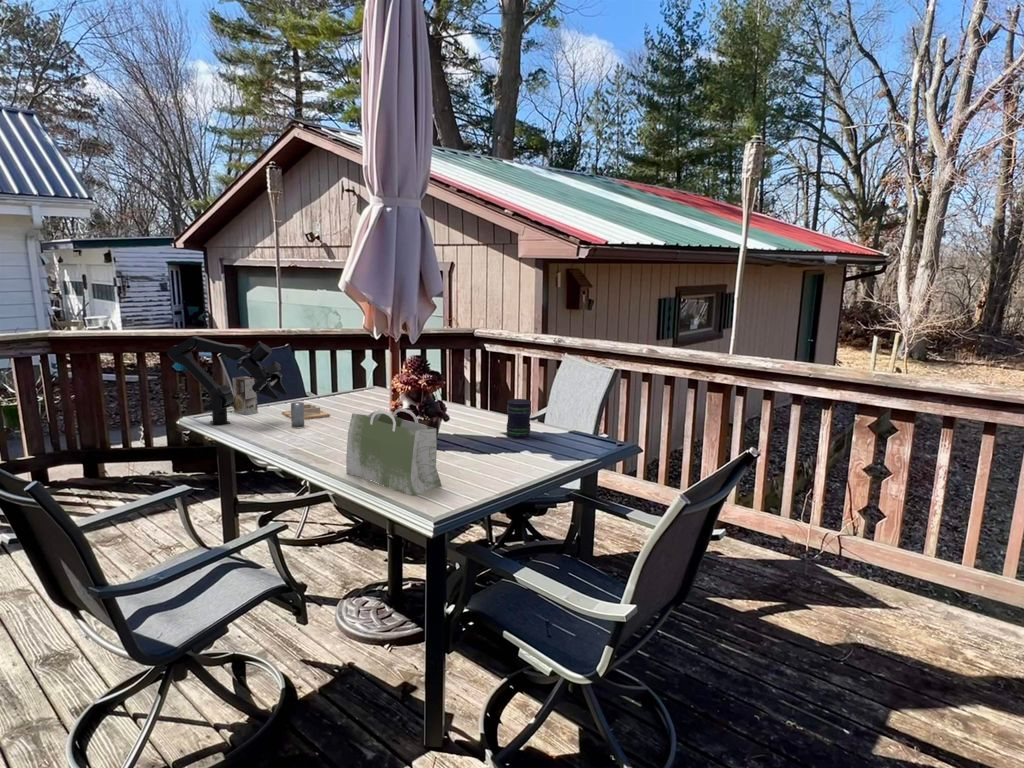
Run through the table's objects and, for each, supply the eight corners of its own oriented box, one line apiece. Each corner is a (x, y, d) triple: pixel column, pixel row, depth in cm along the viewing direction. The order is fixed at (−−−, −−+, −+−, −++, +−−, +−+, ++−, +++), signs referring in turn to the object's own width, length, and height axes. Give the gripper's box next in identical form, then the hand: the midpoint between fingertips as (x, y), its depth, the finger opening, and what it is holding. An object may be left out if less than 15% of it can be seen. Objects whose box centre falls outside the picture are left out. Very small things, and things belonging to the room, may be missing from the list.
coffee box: (258, 412, 286) (257, 377, 284) (245, 415, 281) (244, 379, 278) (246, 410, 291) (244, 375, 288) (233, 412, 286) (231, 377, 283)
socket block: (282, 414, 286) (281, 405, 285) (316, 410, 296) (316, 401, 295) (295, 421, 273) (294, 412, 273) (330, 416, 283) (330, 408, 283)
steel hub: (289, 426, 265) (288, 402, 263) (301, 424, 268) (301, 401, 266) (294, 428, 261) (293, 405, 259) (306, 427, 264) (305, 403, 262)
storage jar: (502, 437, 258) (503, 401, 256) (512, 432, 267) (513, 397, 264) (524, 440, 254) (525, 404, 251) (533, 435, 263) (535, 400, 260)
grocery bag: (444, 485, 198) (446, 413, 194) (412, 496, 187) (413, 420, 183) (376, 464, 217) (376, 398, 213) (343, 473, 206) (342, 404, 202)
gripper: (258, 359, 250) (286, 387, 252) (277, 353, 269) (303, 379, 270) (239, 378, 252) (267, 406, 253) (259, 371, 270) (285, 397, 272)
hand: (282, 396), depth 262 cm, fingers open, 9 cm apart
